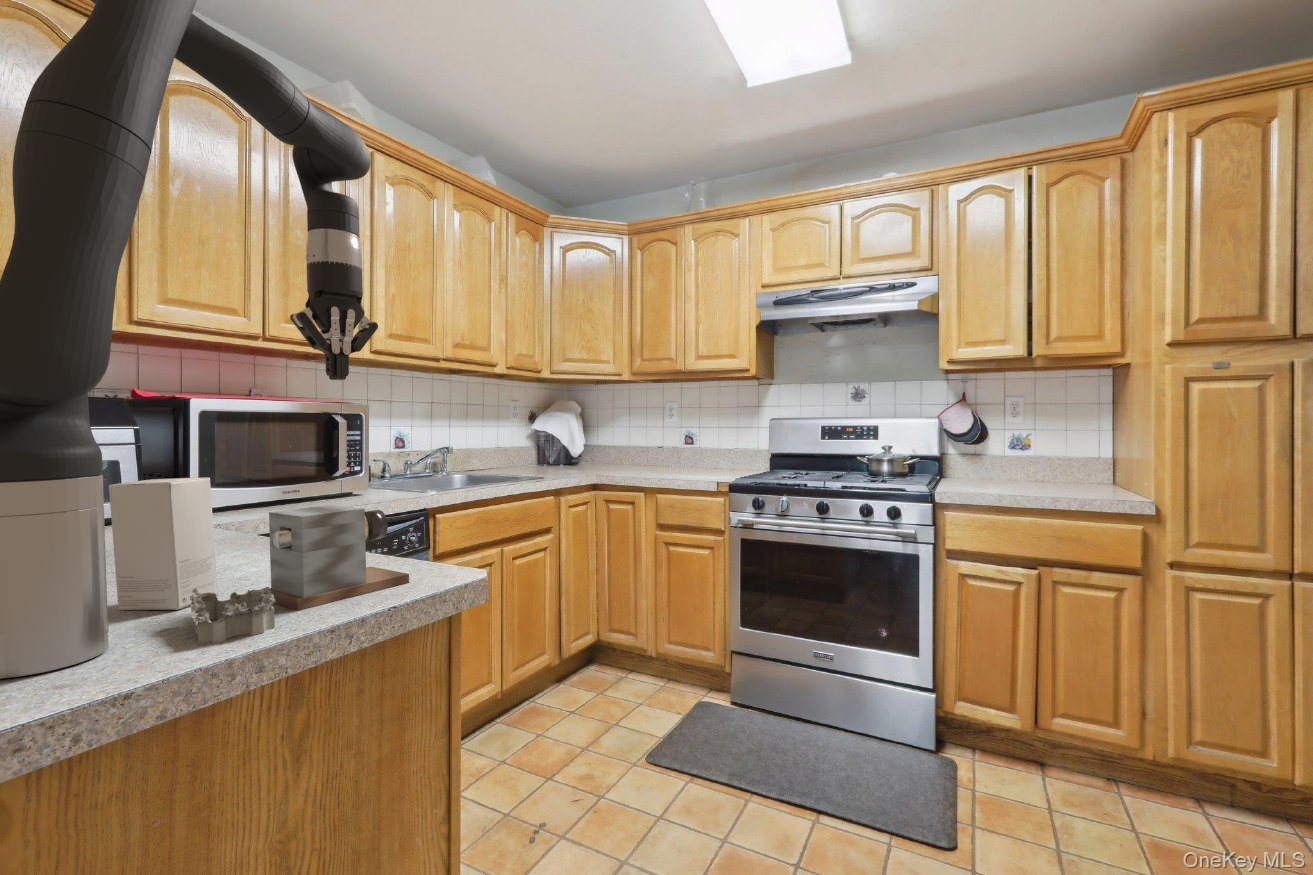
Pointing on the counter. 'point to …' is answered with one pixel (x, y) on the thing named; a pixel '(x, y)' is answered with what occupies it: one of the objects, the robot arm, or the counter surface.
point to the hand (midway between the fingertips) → (337, 379)
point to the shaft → (373, 529)
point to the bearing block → (323, 557)
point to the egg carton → (232, 614)
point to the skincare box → (162, 542)
